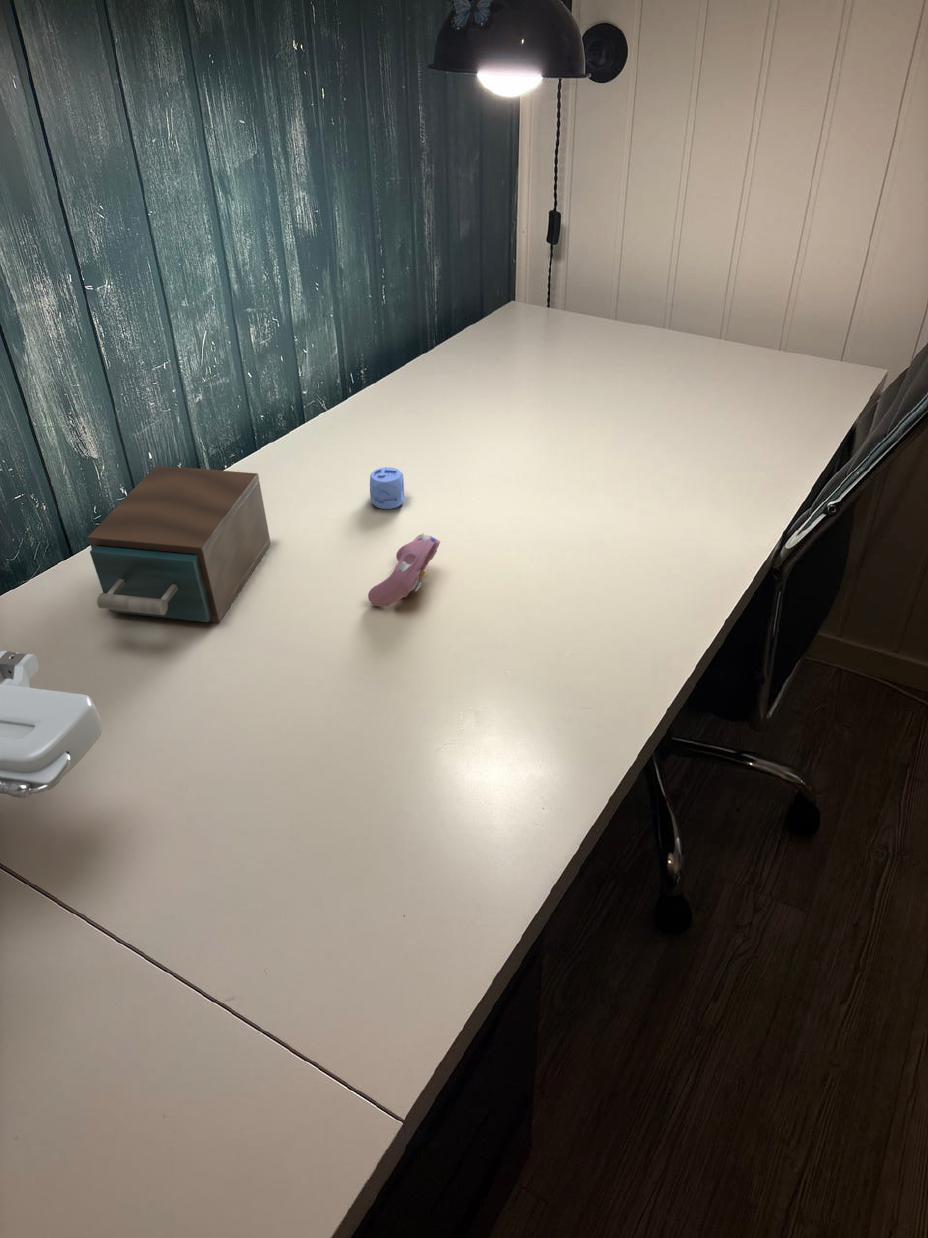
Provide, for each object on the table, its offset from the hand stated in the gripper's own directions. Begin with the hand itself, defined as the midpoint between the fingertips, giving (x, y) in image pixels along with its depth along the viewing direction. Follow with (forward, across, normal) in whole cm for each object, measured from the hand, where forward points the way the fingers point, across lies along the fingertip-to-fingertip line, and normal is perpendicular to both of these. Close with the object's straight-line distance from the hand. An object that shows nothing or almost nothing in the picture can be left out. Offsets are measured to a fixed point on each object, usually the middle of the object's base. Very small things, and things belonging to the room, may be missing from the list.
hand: (21, 658), depth 77 cm
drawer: (+25, 0, +11) cm, 27 cm away
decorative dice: (+49, -18, +12) cm, 54 cm away
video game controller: (+31, -25, +12) cm, 42 cm away
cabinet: (+29, 0, +12) cm, 31 cm away
